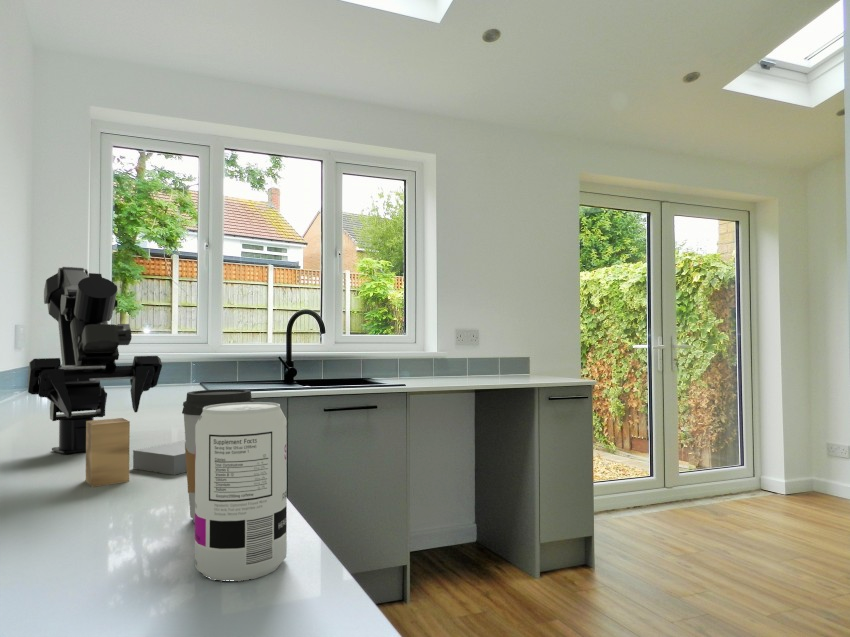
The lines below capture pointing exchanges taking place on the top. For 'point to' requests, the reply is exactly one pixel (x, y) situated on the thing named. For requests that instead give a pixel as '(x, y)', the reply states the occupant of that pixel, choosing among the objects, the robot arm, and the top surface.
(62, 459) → the top surface
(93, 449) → the caramel block
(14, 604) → the top surface
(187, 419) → the coffee cup
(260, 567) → the supplement can
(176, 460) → the gray plinth
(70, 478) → the top surface
